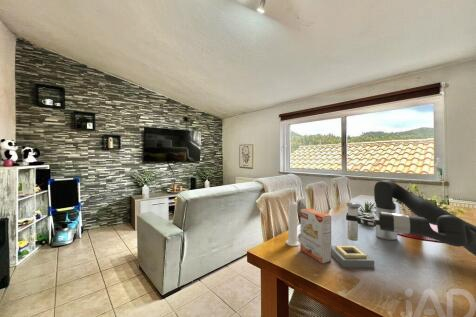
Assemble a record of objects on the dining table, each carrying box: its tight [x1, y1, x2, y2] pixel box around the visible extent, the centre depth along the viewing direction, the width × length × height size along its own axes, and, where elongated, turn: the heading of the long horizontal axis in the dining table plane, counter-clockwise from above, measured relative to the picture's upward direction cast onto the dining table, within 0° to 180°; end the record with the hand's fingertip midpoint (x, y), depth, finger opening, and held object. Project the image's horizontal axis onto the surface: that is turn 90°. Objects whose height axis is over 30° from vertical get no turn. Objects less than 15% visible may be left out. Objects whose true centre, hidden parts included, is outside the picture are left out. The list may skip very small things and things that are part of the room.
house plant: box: [357, 201, 376, 214], centre depth 135 cm, size 14×14×16 cm
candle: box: [285, 197, 301, 247], centre depth 105 cm, size 7×7×25 cm
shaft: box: [346, 201, 361, 242], centre depth 88 cm, size 5×5×16 cm
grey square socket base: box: [331, 245, 375, 269], centre depth 89 cm, size 13×13×4 cm
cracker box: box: [299, 207, 332, 265], centre depth 92 cm, size 14×6×21 cm, turn 23°
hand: (346, 216), depth 89 cm, fingers closed on shaft, 4 cm apart
